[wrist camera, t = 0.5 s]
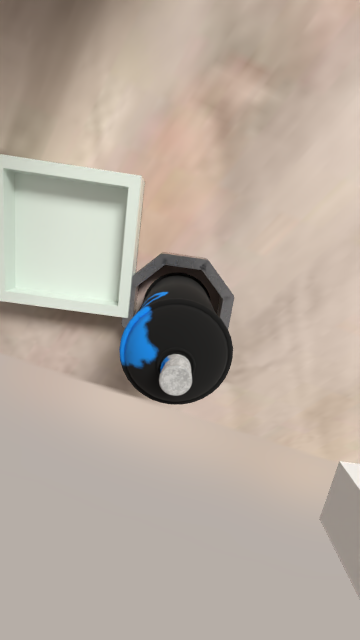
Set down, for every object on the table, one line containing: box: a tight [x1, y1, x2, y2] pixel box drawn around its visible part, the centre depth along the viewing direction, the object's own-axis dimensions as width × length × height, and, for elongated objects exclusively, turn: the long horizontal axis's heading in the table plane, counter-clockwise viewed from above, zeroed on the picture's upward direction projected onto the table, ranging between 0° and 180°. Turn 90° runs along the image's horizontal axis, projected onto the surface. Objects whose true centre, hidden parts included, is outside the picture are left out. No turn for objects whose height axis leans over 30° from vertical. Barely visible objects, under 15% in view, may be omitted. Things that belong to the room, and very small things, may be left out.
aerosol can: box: [120, 273, 233, 404], centre depth 27 cm, size 8×8×20 cm
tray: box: [0, 154, 145, 318], centre depth 33 cm, size 15×15×3 cm
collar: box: [122, 252, 234, 329], centre depth 36 cm, size 12×12×2 cm
